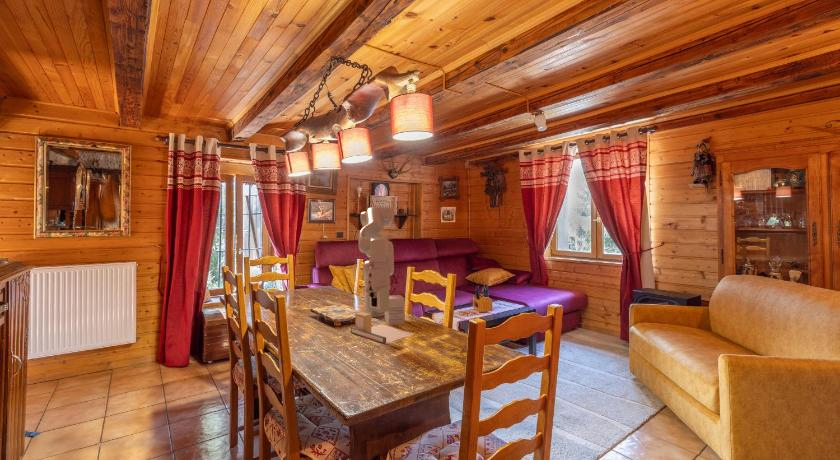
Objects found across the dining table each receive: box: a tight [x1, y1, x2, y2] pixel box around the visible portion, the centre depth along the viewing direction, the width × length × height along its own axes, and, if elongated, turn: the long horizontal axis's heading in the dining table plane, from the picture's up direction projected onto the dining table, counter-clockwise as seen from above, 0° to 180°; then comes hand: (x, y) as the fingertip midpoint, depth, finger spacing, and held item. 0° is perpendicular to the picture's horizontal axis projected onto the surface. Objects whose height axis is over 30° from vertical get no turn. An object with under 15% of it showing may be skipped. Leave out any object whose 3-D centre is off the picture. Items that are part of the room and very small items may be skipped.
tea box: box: [369, 286, 390, 313], centre depth 180 cm, size 5×9×11 cm, turn 47°
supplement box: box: [384, 294, 406, 326], centre depth 205 cm, size 9×9×15 cm
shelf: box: [350, 324, 415, 345], centre depth 187 cm, size 19×24×4 cm
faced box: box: [354, 311, 372, 333], centre depth 188 cm, size 4×7×9 cm, turn 47°
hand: (378, 305), depth 180 cm, fingers closed on tea box, 4 cm apart
